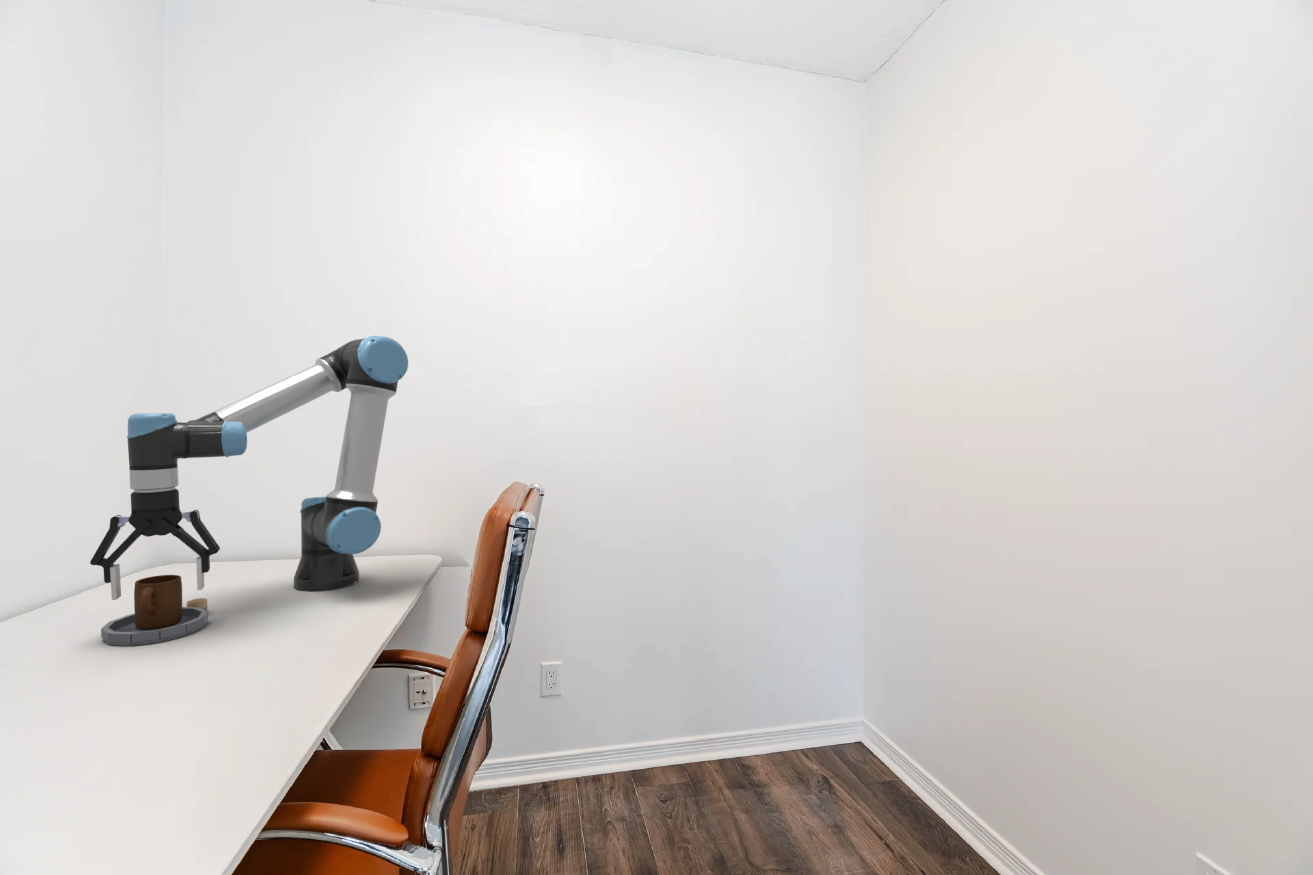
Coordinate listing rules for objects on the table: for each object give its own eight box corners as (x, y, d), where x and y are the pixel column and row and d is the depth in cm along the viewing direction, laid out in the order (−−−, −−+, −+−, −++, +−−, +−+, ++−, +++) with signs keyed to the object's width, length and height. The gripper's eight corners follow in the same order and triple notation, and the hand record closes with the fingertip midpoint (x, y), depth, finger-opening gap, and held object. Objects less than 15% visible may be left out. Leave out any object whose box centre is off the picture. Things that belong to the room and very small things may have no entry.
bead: (208, 610, 136) (208, 597, 136) (205, 615, 133) (205, 602, 133) (189, 612, 134) (188, 599, 134) (185, 617, 131) (185, 604, 131)
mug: (168, 635, 119) (168, 587, 118) (119, 640, 116) (118, 591, 115) (187, 616, 130) (186, 572, 129) (142, 620, 126) (142, 576, 126)
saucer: (213, 613, 134) (213, 602, 134) (198, 638, 120) (197, 626, 119) (118, 624, 126) (118, 613, 126) (89, 651, 112) (89, 639, 112)
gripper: (232, 483, 131) (236, 579, 132) (80, 491, 119) (85, 596, 121) (227, 487, 124) (231, 589, 126) (64, 496, 113) (70, 608, 114)
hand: (159, 593), depth 123 cm, fingers open, 13 cm apart
